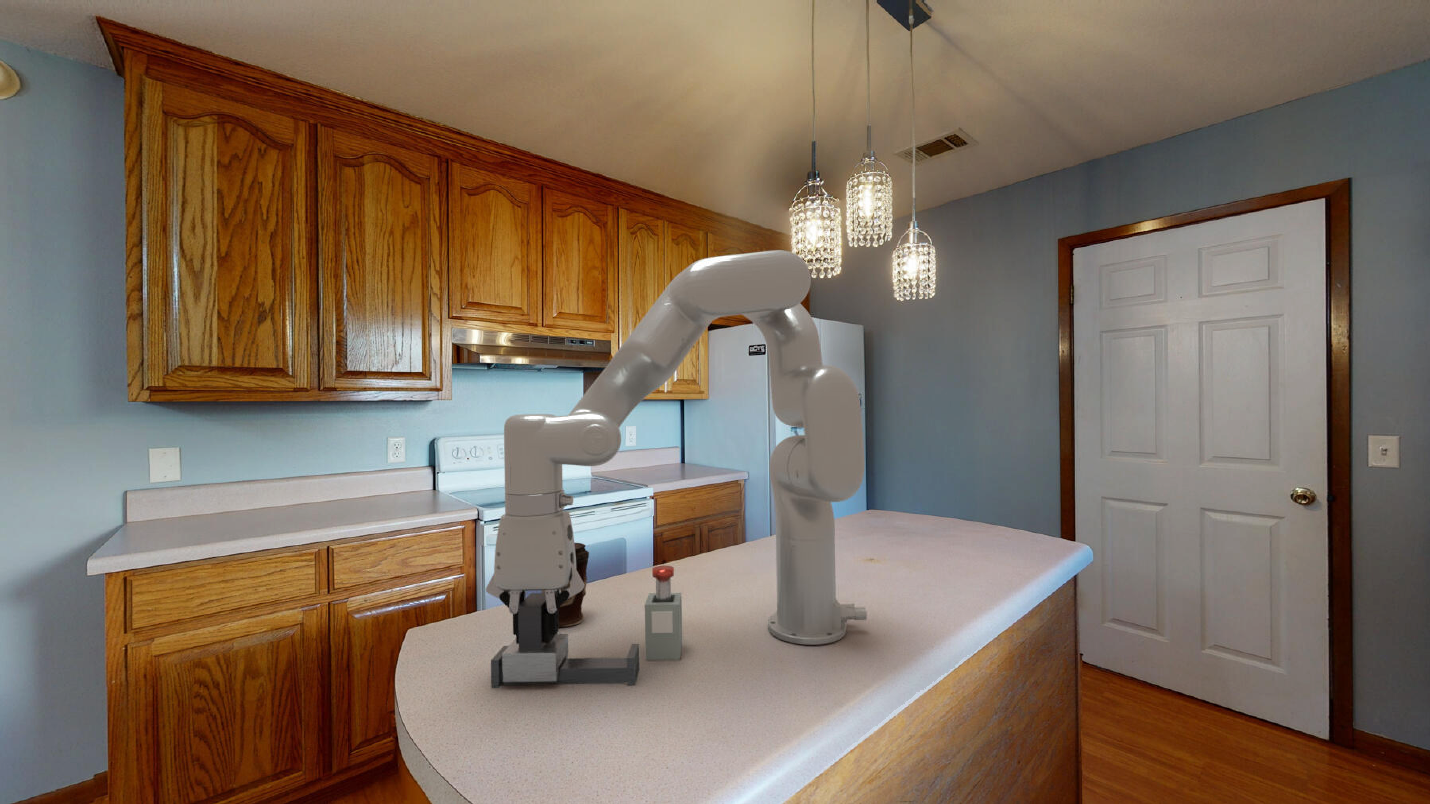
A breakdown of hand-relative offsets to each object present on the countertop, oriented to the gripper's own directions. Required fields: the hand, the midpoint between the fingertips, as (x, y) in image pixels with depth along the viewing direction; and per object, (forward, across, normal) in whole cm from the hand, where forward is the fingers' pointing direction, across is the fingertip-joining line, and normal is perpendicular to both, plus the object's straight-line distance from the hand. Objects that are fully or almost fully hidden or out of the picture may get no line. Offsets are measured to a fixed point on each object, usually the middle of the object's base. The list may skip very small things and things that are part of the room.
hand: (536, 638), depth 75 cm
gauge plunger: (0, -17, -7) cm, 18 cm away
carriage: (+6, 0, 0) cm, 6 cm away
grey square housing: (+6, -17, -8) cm, 19 cm away
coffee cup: (+6, +2, -20) cm, 21 cm away
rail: (+6, -4, 0) cm, 7 cm away
